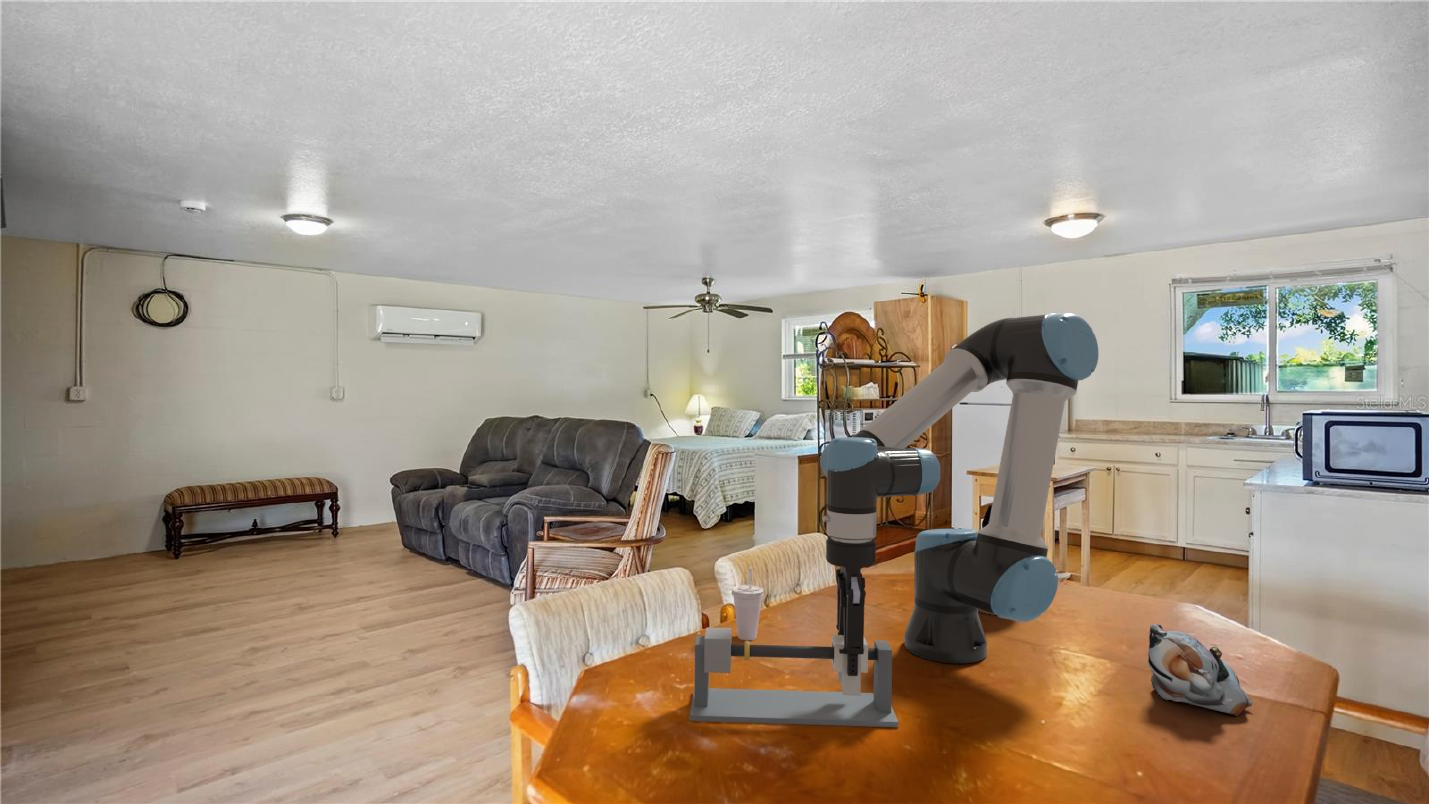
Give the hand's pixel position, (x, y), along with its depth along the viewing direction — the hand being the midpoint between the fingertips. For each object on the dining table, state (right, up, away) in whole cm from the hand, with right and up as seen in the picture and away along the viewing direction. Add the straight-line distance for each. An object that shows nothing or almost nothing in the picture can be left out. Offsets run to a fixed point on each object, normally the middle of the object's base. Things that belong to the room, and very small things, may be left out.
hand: (848, 687), depth 113 cm
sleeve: (0, +3, 0) cm, 3 cm away
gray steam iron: (+57, -4, +4) cm, 57 cm away
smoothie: (-14, -3, +33) cm, 36 cm away
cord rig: (-9, -4, 0) cm, 10 cm away
